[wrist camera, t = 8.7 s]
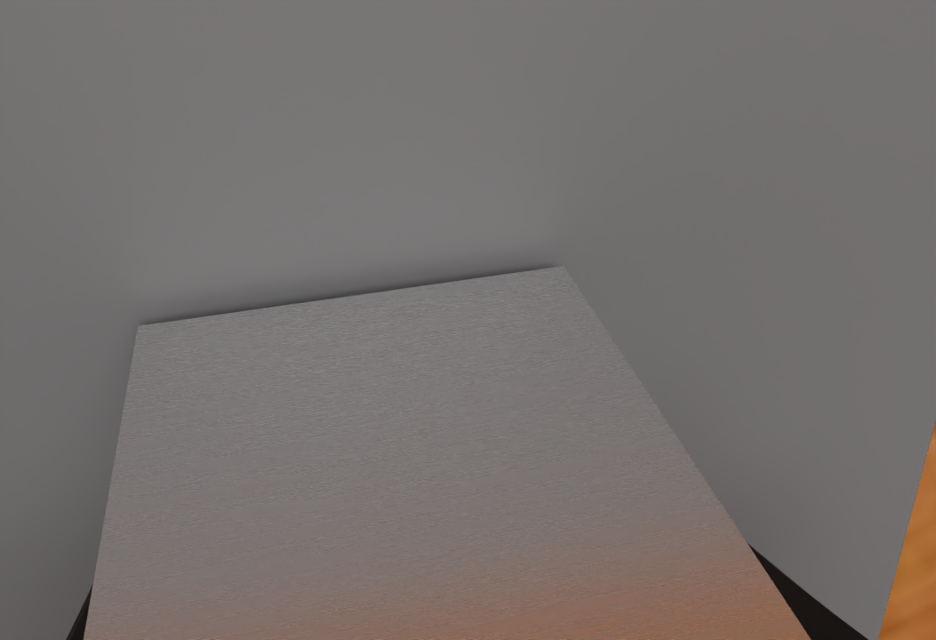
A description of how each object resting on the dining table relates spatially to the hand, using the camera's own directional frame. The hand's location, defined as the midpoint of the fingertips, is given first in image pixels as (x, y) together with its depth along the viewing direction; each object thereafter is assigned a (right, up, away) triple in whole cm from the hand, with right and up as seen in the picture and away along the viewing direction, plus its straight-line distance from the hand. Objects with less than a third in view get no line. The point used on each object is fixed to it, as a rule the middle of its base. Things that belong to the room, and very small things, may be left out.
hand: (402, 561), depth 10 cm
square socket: (0, +1, +1) cm, 2 cm away
